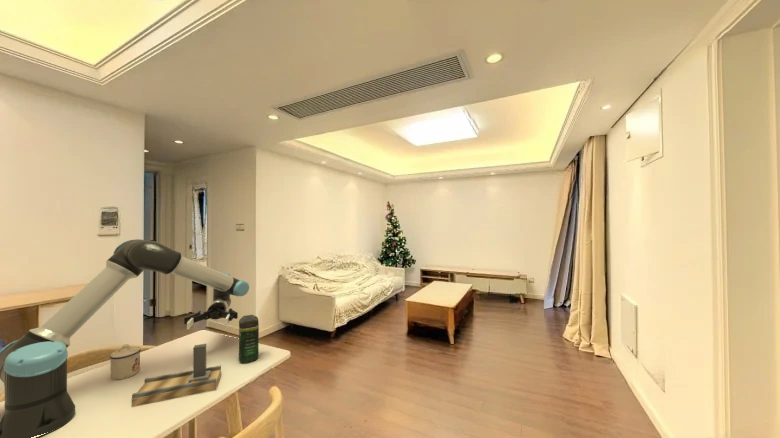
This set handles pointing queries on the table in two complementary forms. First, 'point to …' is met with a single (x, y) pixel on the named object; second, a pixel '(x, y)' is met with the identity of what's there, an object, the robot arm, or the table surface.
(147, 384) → the fader console
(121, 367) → the teacup with lid
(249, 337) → the coffee jar
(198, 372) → the fader tab
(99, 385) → the table surface
